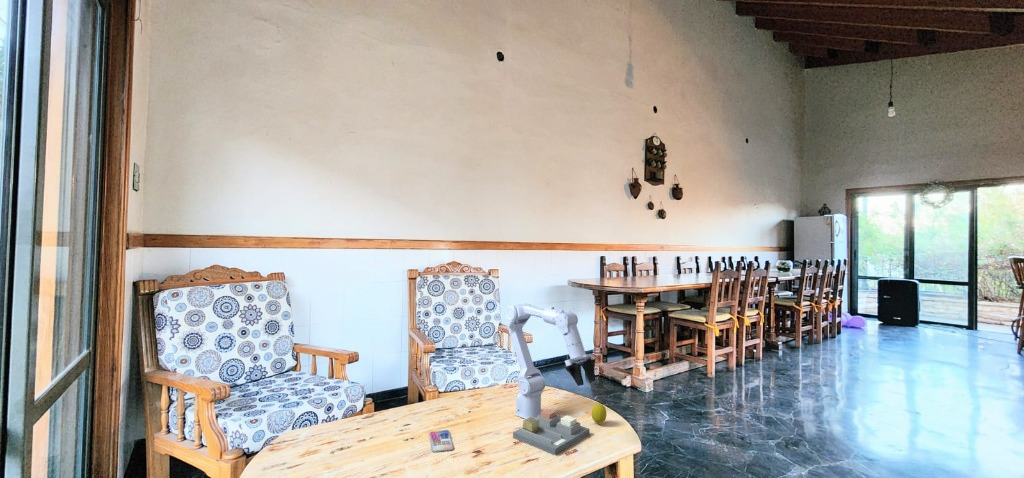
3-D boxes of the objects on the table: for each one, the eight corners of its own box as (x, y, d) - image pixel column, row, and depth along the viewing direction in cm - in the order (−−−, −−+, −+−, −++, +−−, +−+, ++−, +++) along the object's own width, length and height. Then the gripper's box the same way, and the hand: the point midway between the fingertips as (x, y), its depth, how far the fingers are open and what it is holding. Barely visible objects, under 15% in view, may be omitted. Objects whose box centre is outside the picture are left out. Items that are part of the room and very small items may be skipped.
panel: (513, 437, 152) (513, 425, 152) (548, 420, 168) (549, 408, 168) (555, 455, 140) (555, 441, 140) (589, 434, 156) (589, 422, 156)
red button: (540, 417, 161) (540, 411, 161) (547, 414, 164) (547, 408, 164) (549, 420, 158) (549, 414, 158) (555, 417, 161) (555, 411, 161)
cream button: (560, 424, 155) (560, 418, 155) (567, 420, 158) (567, 415, 158) (570, 427, 152) (570, 421, 152) (576, 424, 155) (576, 418, 155)
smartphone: (431, 451, 140) (428, 431, 155) (431, 454, 140) (428, 434, 155) (454, 448, 142) (449, 429, 157) (454, 451, 142) (449, 431, 157)
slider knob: (523, 430, 153) (523, 420, 153) (530, 427, 156) (530, 417, 156) (531, 434, 150) (532, 423, 150) (539, 430, 153) (539, 420, 153)
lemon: (606, 428, 162) (606, 406, 162) (591, 426, 163) (591, 405, 163) (606, 422, 167) (606, 401, 167) (591, 420, 168) (591, 399, 168)
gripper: (571, 344, 148) (584, 384, 144) (594, 339, 159) (606, 377, 155) (556, 349, 152) (568, 389, 148) (578, 344, 163) (590, 381, 159)
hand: (586, 383), depth 152 cm, fingers open, 7 cm apart
